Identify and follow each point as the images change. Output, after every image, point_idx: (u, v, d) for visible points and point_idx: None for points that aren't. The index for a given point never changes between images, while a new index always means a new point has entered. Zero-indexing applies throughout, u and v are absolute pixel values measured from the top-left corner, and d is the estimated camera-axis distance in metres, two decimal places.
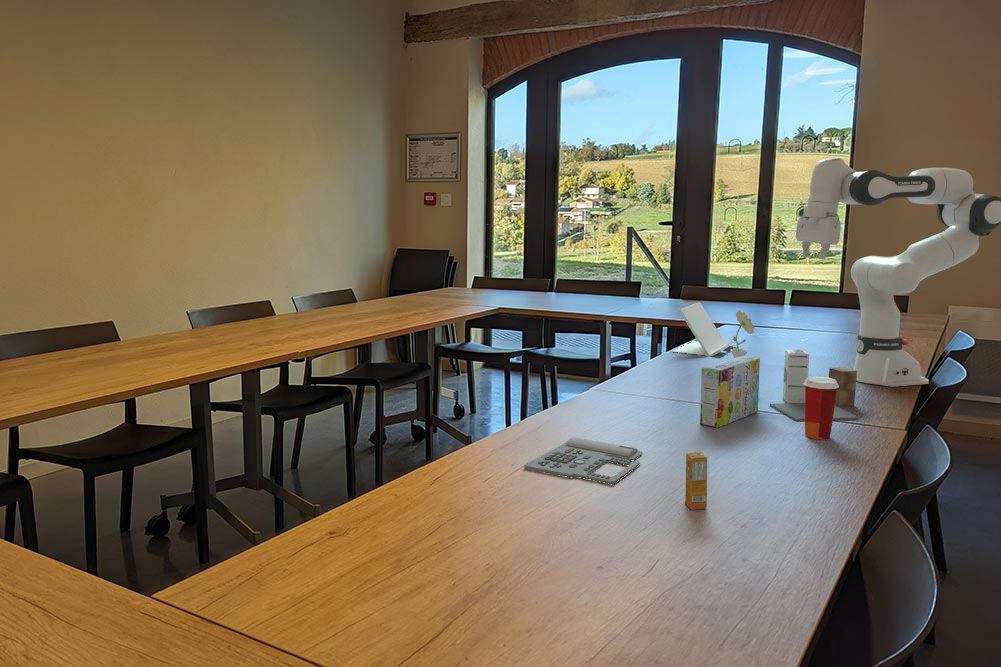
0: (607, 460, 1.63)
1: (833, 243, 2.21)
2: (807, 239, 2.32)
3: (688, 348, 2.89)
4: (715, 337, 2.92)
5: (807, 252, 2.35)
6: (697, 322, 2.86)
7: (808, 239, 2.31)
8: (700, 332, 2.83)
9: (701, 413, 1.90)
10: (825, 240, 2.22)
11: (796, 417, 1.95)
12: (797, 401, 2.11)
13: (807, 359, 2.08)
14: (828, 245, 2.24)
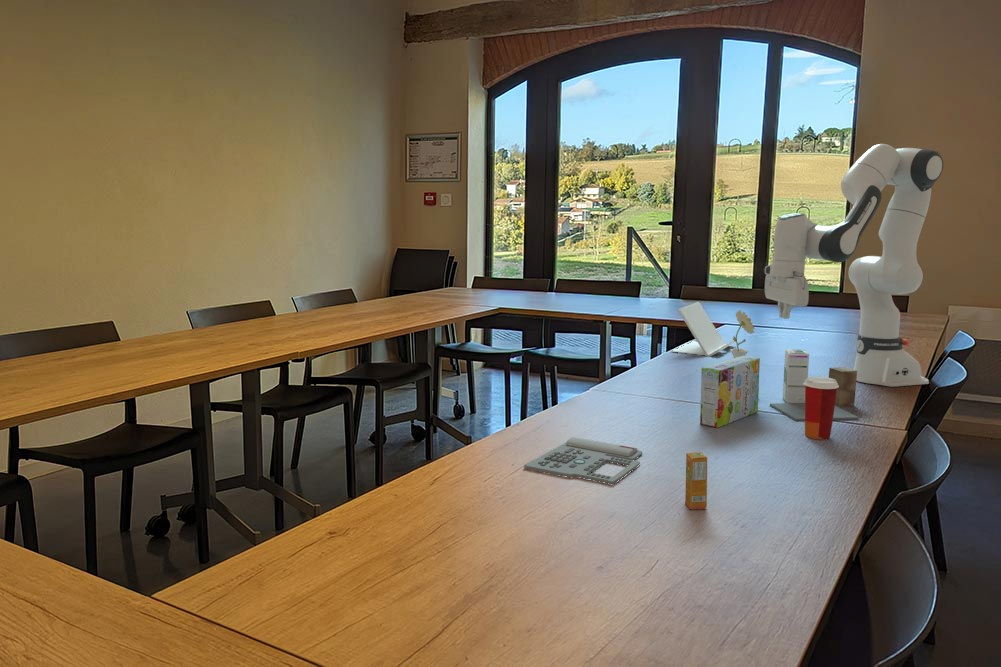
0: (607, 460, 1.63)
1: (802, 305, 2.08)
2: (776, 298, 2.20)
3: (687, 348, 2.89)
4: (714, 337, 2.93)
5: None
6: (696, 322, 2.86)
7: (777, 298, 2.19)
8: (699, 332, 2.83)
9: (701, 413, 1.90)
10: (793, 302, 2.09)
11: (796, 417, 1.95)
12: (797, 401, 2.11)
13: (807, 359, 2.08)
14: (791, 304, 2.16)
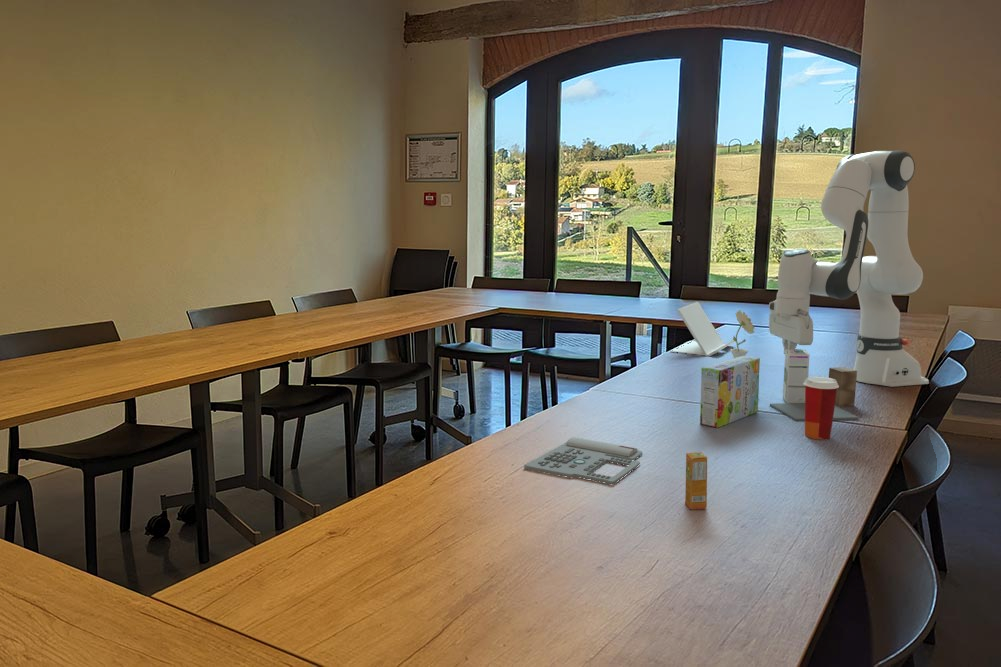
0: (607, 460, 1.63)
1: (807, 344, 2.05)
2: (780, 335, 2.17)
3: (686, 348, 2.89)
4: (713, 337, 2.93)
5: None
6: (695, 322, 2.86)
7: (782, 335, 2.16)
8: (698, 332, 2.83)
9: (701, 413, 1.90)
10: (797, 341, 2.06)
11: (796, 417, 1.95)
12: (797, 401, 2.11)
13: (807, 359, 2.08)
14: None
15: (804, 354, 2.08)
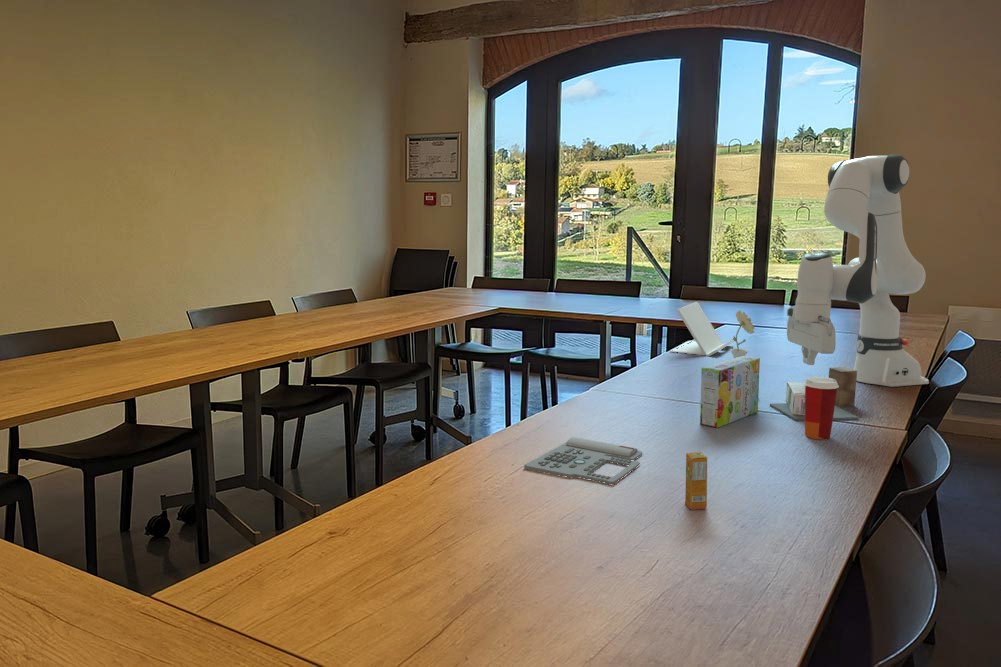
0: (607, 460, 1.63)
1: (829, 352, 1.95)
2: (799, 343, 2.06)
3: (686, 348, 2.89)
4: (712, 337, 2.93)
5: None
6: (695, 322, 2.86)
7: (801, 343, 2.05)
8: (698, 332, 2.83)
9: (701, 413, 1.90)
10: (819, 349, 1.95)
11: (796, 417, 1.95)
12: None
13: None
14: None
15: None
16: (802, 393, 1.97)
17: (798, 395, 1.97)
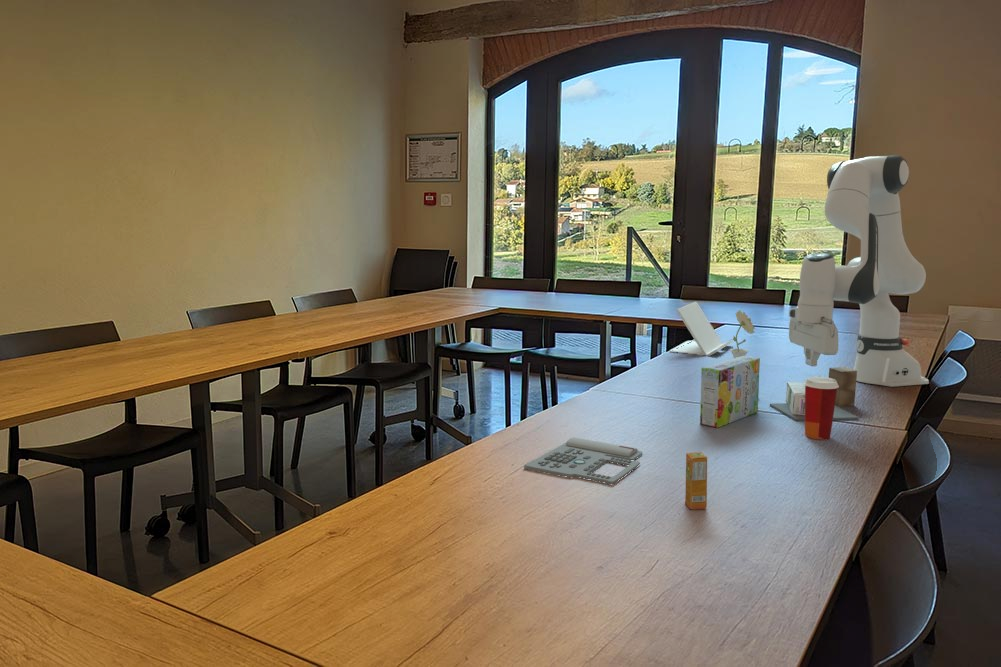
0: (607, 460, 1.63)
1: (831, 354, 1.94)
2: (802, 344, 2.05)
3: (685, 348, 2.89)
4: (712, 337, 2.93)
5: None
6: (694, 322, 2.87)
7: (803, 344, 2.04)
8: (697, 332, 2.83)
9: (701, 413, 1.90)
10: (822, 350, 1.94)
11: (796, 417, 1.95)
12: None
13: None
14: None
15: None
16: (802, 393, 1.97)
17: (798, 395, 1.97)
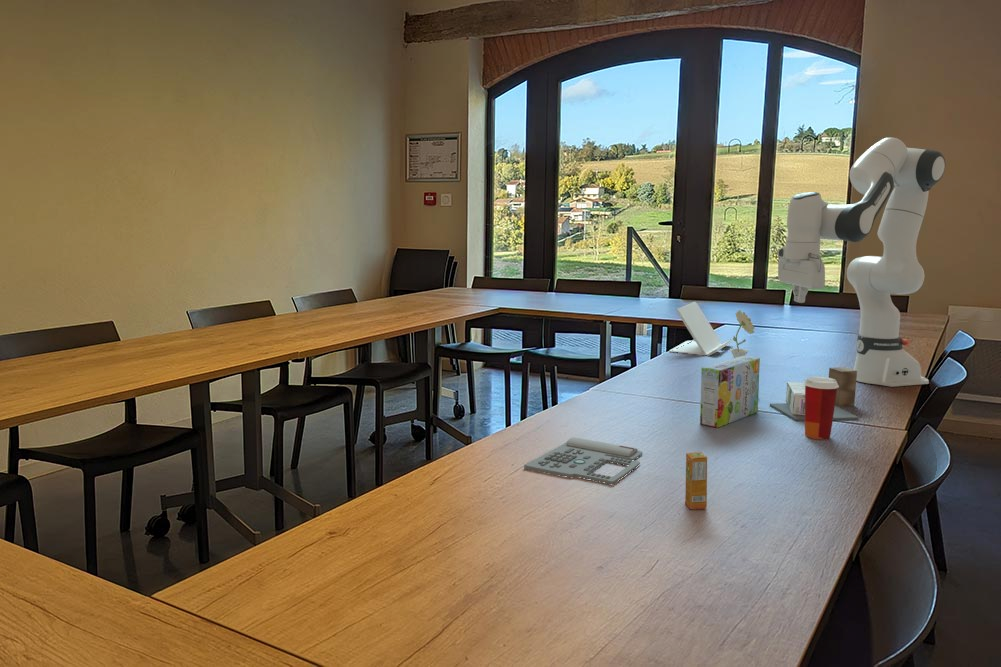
0: (607, 460, 1.63)
1: (818, 288, 2.00)
2: (790, 282, 2.11)
3: (685, 348, 2.89)
4: (711, 337, 2.93)
5: None
6: (694, 322, 2.87)
7: (792, 282, 2.10)
8: (697, 331, 2.84)
9: (701, 413, 1.90)
10: (809, 285, 2.00)
11: (796, 417, 1.95)
12: None
13: None
14: (806, 288, 2.07)
15: None
16: (802, 393, 1.97)
17: (798, 395, 1.97)
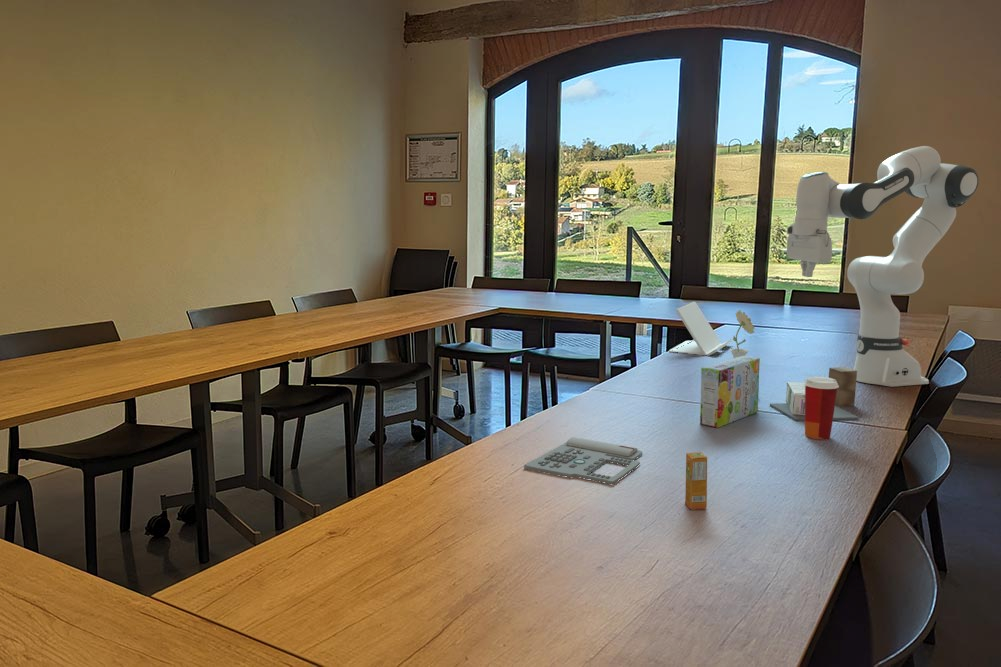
0: (607, 460, 1.63)
1: (826, 262, 2.11)
2: (799, 257, 2.22)
3: (684, 348, 2.90)
4: (711, 336, 2.94)
5: None
6: (693, 322, 2.87)
7: (800, 257, 2.21)
8: (697, 331, 2.84)
9: (701, 413, 1.90)
10: (816, 259, 2.12)
11: (796, 417, 1.95)
12: None
13: None
14: (814, 262, 2.18)
15: None
16: (802, 393, 1.97)
17: (798, 395, 1.97)
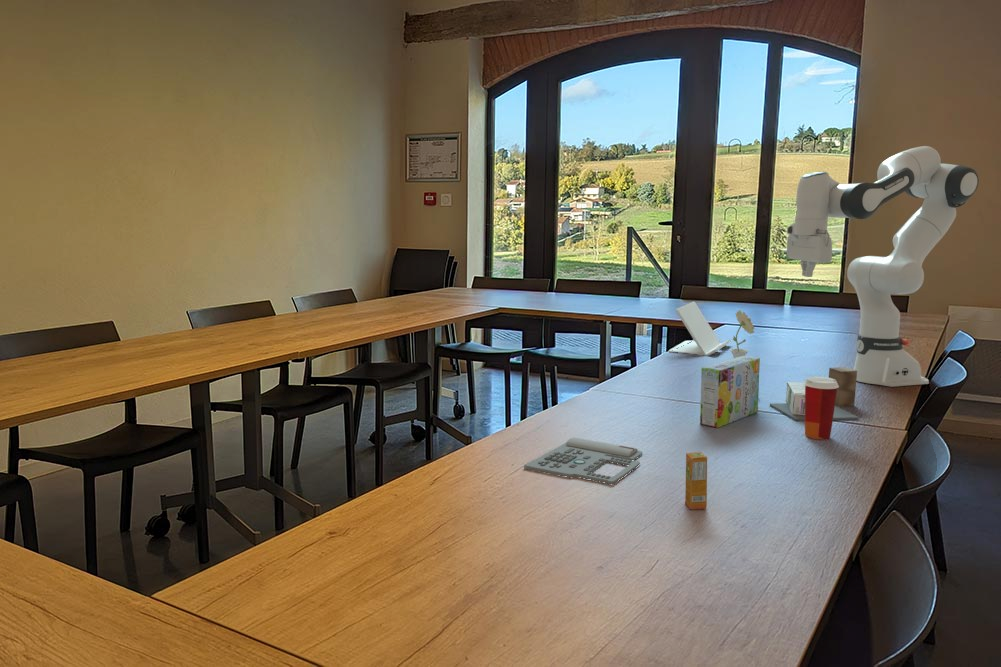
0: (607, 460, 1.63)
1: (826, 262, 2.11)
2: (799, 257, 2.22)
3: (684, 348, 2.90)
4: (710, 336, 2.94)
5: None
6: (693, 322, 2.87)
7: (800, 257, 2.21)
8: (696, 331, 2.84)
9: (701, 413, 1.90)
10: (816, 259, 2.12)
11: (796, 417, 1.95)
12: None
13: None
14: (814, 262, 2.18)
15: None
16: (802, 393, 1.97)
17: (798, 395, 1.97)
